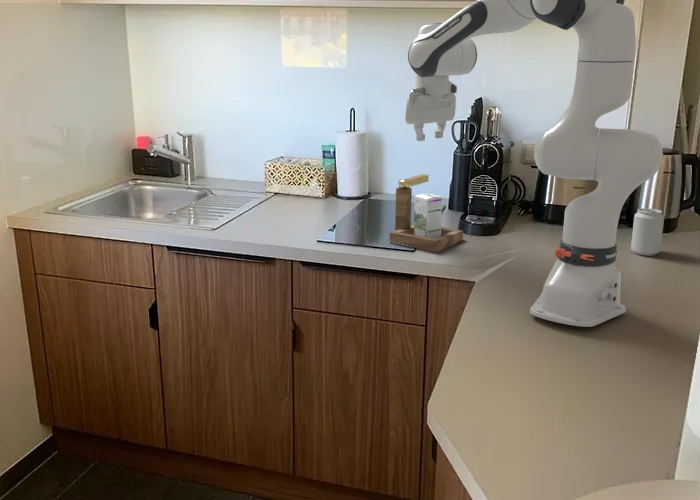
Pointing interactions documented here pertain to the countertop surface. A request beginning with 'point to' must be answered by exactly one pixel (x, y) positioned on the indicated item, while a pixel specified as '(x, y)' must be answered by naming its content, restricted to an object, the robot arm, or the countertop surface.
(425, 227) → the syrup box
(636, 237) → the can
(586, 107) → the robot arm
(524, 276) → the countertop surface
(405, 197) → the holder
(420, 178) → the bar
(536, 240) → the countertop surface
